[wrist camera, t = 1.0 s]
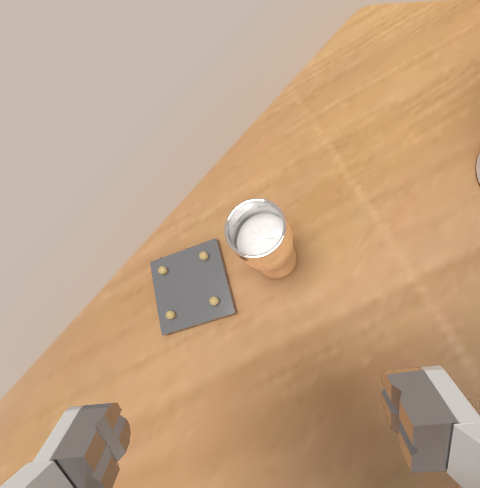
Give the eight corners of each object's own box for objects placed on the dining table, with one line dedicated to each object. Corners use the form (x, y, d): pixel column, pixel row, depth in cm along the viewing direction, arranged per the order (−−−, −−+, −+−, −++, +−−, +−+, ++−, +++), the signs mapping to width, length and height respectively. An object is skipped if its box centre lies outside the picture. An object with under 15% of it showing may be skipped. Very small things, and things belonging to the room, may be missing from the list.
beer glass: (247, 272, 44) (212, 247, 30) (263, 231, 45) (237, 188, 31) (289, 288, 42) (273, 270, 28) (306, 245, 43) (298, 205, 29)
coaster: (218, 240, 47) (213, 236, 45) (237, 313, 43) (232, 312, 41) (154, 263, 49) (145, 260, 47) (165, 334, 45) (157, 335, 43)
